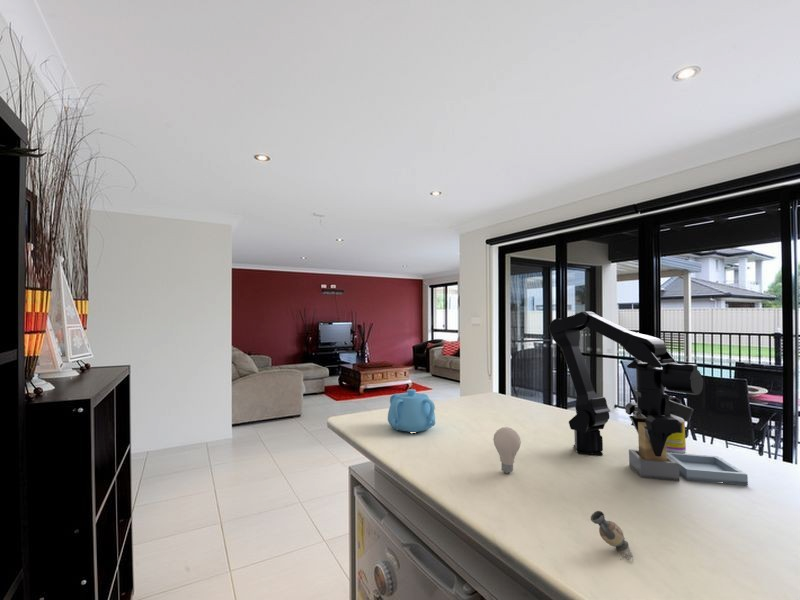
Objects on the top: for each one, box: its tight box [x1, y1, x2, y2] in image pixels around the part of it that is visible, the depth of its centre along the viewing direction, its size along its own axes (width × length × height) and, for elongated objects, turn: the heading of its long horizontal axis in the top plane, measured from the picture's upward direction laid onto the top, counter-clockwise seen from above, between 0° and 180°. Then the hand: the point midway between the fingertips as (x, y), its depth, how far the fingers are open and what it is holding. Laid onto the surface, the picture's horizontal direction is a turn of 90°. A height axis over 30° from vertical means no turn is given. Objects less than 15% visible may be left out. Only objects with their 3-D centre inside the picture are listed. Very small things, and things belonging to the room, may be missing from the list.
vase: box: [590, 510, 634, 562], centre depth 62 cm, size 5×5×6 cm
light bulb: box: [492, 426, 522, 474], centre depth 93 cm, size 7×7×11 cm
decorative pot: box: [387, 388, 436, 433], centre depth 131 cm, size 16×16×14 cm
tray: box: [667, 452, 749, 486], centre depth 93 cm, size 12×12×2 cm
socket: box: [628, 449, 680, 482], centre depth 93 cm, size 8×8×4 cm
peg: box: [637, 422, 667, 461], centre depth 93 cm, size 4×4×11 cm
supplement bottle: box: [662, 414, 687, 454], centre depth 110 cm, size 7×7×13 cm
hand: (652, 451), depth 93 cm, fingers open, 6 cm apart
